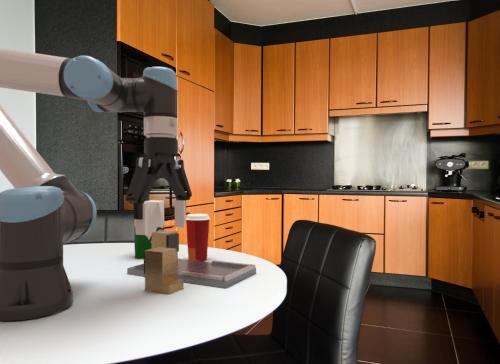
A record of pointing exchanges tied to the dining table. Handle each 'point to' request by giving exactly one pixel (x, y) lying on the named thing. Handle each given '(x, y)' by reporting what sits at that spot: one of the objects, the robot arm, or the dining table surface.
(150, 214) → the milk carton
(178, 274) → the gray tray with block
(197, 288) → the dining table surface
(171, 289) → the upright wooden block
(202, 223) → the paper cup
